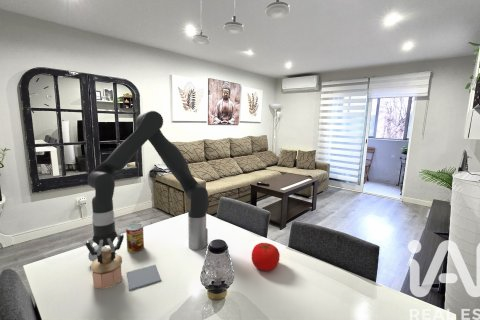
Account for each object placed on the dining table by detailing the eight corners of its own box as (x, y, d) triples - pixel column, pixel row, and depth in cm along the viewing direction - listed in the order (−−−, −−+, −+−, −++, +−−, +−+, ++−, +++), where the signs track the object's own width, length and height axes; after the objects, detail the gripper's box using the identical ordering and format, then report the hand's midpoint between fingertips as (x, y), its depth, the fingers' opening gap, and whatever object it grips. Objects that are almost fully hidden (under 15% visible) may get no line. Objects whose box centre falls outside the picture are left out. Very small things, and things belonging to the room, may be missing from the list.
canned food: (133, 254, 117) (132, 231, 115) (124, 249, 121) (122, 227, 119) (147, 247, 123) (146, 225, 121) (137, 243, 127) (136, 222, 126)
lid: (121, 254, 104) (120, 241, 103) (123, 267, 95) (122, 253, 94) (91, 261, 99) (90, 247, 98) (90, 276, 89) (89, 261, 88)
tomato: (253, 256, 118) (254, 236, 116) (279, 259, 115) (280, 239, 114) (248, 273, 104) (249, 251, 102) (278, 278, 101) (279, 255, 100)
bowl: (120, 269, 104) (119, 257, 104) (122, 283, 96) (121, 269, 95) (94, 276, 99) (93, 263, 99) (93, 291, 91) (92, 277, 90)
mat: (155, 265, 108) (155, 264, 108) (161, 281, 98) (161, 279, 98) (126, 273, 102) (126, 272, 102) (129, 290, 92) (129, 289, 92)
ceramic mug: (100, 269, 104) (99, 253, 103) (88, 264, 108) (87, 248, 107) (121, 257, 114) (120, 242, 113) (110, 253, 117) (109, 238, 116)
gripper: (123, 214, 100) (125, 252, 103) (83, 221, 93) (86, 261, 96) (124, 221, 94) (126, 261, 97) (81, 228, 87) (85, 271, 90)
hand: (106, 260), depth 96 cm, fingers closed on lid, 3 cm apart
